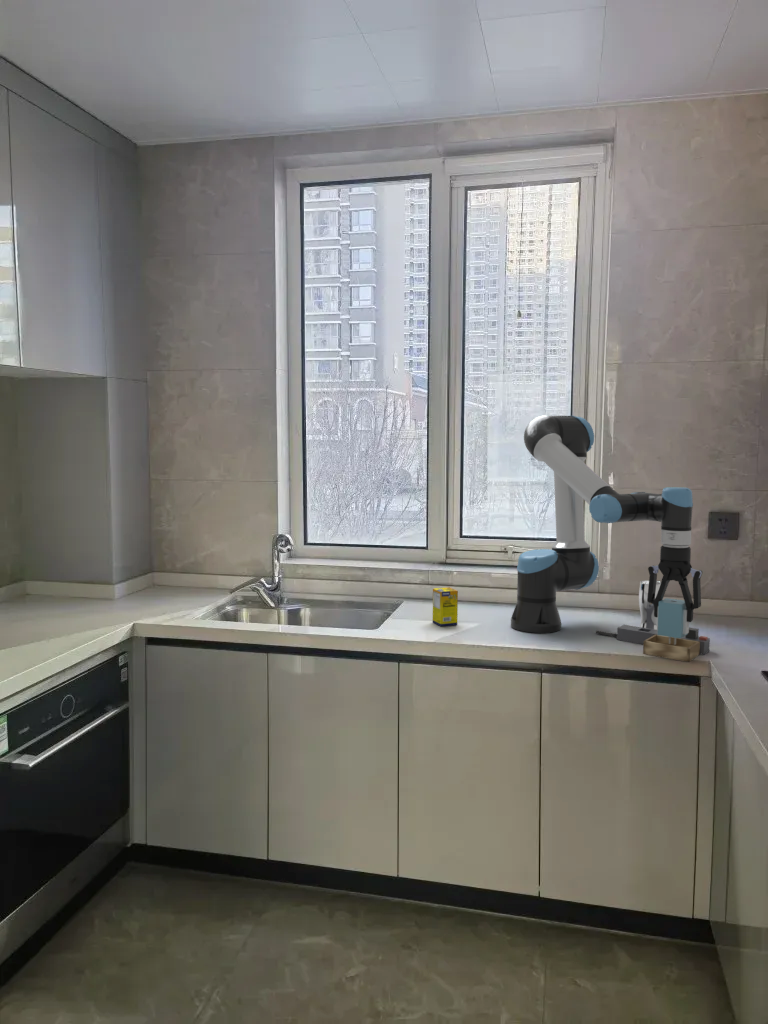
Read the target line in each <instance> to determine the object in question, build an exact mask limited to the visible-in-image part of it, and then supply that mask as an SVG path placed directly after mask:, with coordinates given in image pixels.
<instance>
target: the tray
mask: <svg viewBox="0 0 768 1024" xmlns="http://www.w3.org/2000/svg"><path fill="white" fill-rule="evenodd" d="M642 645H643V647H642V648H643V650H642V655H647V656H654V657H658V658H664V659H670V660H674V661H675V660H677V661H681V662H687V663H690V662H691V661H692V660H694V659H695V658H698V656H700V655H701V654H700V642H699V641H692V640H686V639H680V638H676V645H674V637H671V644H669V637H668V636H661V635H653V636H652V637H650V638H648V639H646V640H645V641H644V643H643V644H642Z"/></svg>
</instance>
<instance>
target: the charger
mask: <svg viewBox="0 0 768 1024" xmlns="http://www.w3.org/2000/svg"><path fill="white" fill-rule="evenodd" d="M684 609H686V605H685V601H684V599H683V600H682V599H677V598H676V599H674V598H668V597H666V598H663V600H661V601H659V607H658V635H661V636H668V637H669V644H671V637H674V645H676V638H682V637H684V636H685V634H683V611H684ZM687 634H688V633H687ZM687 634H686V635H687Z"/></svg>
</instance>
